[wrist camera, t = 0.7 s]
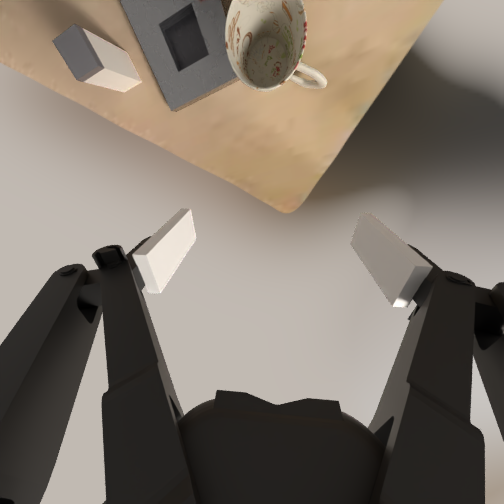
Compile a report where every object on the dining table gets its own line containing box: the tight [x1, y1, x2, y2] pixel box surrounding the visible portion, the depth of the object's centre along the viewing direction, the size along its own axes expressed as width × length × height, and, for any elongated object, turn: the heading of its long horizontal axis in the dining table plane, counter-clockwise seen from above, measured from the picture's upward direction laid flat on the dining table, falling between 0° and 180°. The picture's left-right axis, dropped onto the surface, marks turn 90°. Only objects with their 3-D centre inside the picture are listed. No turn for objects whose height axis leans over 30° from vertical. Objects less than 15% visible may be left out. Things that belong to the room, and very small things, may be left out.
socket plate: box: [121, 0, 240, 112], centre depth 26 cm, size 12×12×3 cm
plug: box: [53, 24, 142, 92], centre depth 26 cm, size 4×4×9 cm
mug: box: [225, 0, 327, 92], centre depth 24 cm, size 8×13×10 cm, turn 71°
